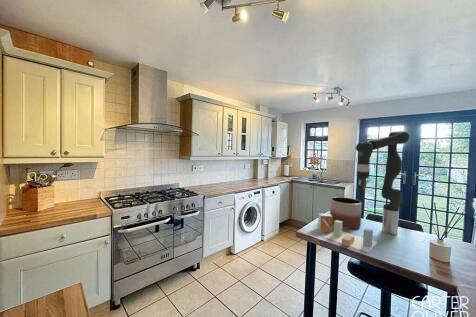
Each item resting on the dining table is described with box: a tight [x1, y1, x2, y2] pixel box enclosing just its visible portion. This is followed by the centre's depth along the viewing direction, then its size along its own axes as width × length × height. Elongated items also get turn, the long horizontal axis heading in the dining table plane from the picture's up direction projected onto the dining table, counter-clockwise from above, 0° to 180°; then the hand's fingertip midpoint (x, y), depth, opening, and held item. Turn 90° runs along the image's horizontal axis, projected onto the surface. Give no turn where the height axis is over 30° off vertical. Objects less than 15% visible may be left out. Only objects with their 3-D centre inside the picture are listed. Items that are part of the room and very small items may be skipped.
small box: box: [317, 212, 333, 233], centre depth 148 cm, size 8×6×13 cm
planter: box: [329, 196, 362, 230], centre depth 164 cm, size 22×22×20 cm
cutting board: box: [324, 230, 378, 253], centre depth 134 cm, size 20×26×1 cm
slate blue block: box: [362, 227, 374, 247], centre depth 127 cm, size 4×4×10 cm
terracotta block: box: [341, 233, 354, 248], centre depth 129 cm, size 4×4×10 cm
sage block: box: [333, 220, 343, 237], centre depth 140 cm, size 4×4×10 cm
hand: (361, 195), depth 143 cm, fingers closed
